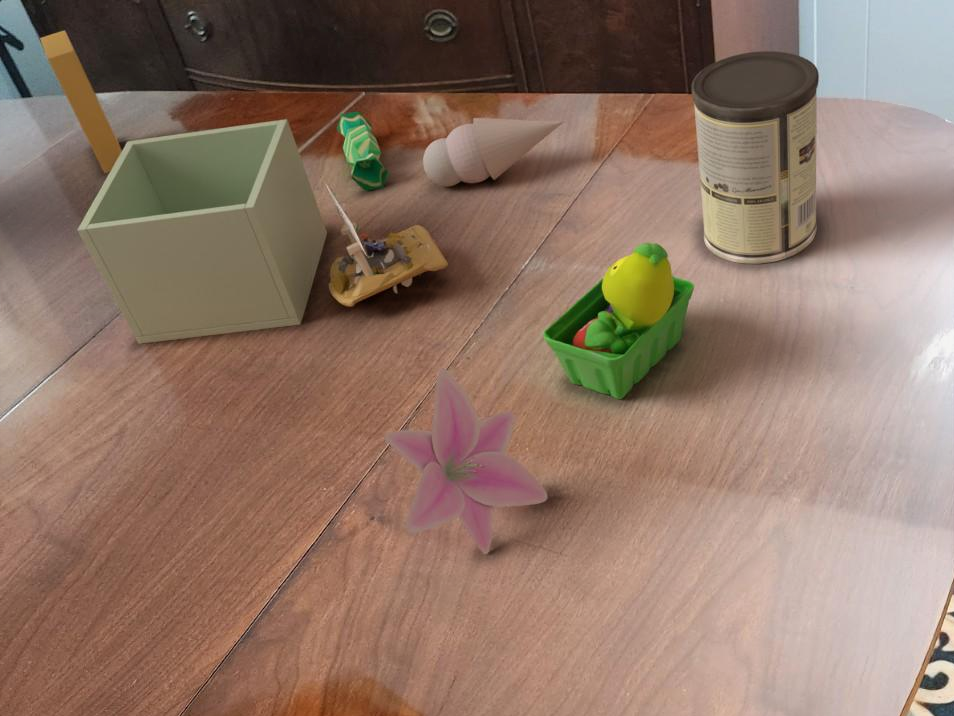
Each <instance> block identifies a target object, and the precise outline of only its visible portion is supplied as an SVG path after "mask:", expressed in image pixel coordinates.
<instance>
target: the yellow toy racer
mask: <svg viewBox="0 0 954 716" xmlns="http://www.w3.org/2000/svg"><path fill="white" fill-rule="evenodd" d="M323 182H324V185H325V187H326V189H327V191H328V193H329V195H330V198H331V199H332V201H333V203H334V206H335V208H336V211H337V213H338V214H339V217H341V219H342V221H343V222H344V223H343V225H342V227H341V229H340V233H341V235H343V236H344V235H347V236H348V239H349V240H350V243H351V244H349V245H347V246H346V251H347V252H345V253H344V255H343V256H337V257H336V259H335V260H334V261H333V263H332V264H331V265H330V271H329V277H330V282H328V290H329V292H330V295H331V296H332V297H333V298H334V299H335V300H336V301H337V302H338V303H339V304H341V305H342V306H345V307H351V308H352V307H354V306H355V305H356V304H357V303H359V302H361V301H364V300H366V299H368V298H370V297H372V296H374V295H376V294H379V293H381V292H383V291H386V290H388V289H390V288H391V287H392V291H393V292H394V293H395V294H398V287H397V285H399V284H400V283H401V285H402V286H404V287H406V288H409V286H411V285H412V282H413V278H414V277H416V276H418V275H419V277H421V274H423V273H426V272H437V271H439V270H443V269H444V268H445V269H446V268H447V266H448V264H449V263H448V261H447V260H446V258H445V256H444V254H443V253H442V252H441V250H440V249H439V247H438V245H437V243H436V242H435V241H434V239H433V237H432V236H431V234H430V232H429V231H428V230H427V229H426V228H425V227H424V226H422V225H420V224H415V225H412V226H411V227H409V228H406V229H404V230H401V231H399V232H397V233H394V232H389V234H388V236H387V237H385V238H382V239H371V238H369V236H368V235H367V234H366V233H363V234H361V235H362V238H363V245H362V242H361V240H360V238H359V234H358V233H357V231H358V229H359V227H360V225H359V224H357V223H356V222H355V221H354V222H352V220H351V219H350V217H349V215H348V214H347V211H346V210H344V208H343V206H342V204H341V203H340V201H339V199H338V198H337V196H336V194H335V192H334V190H333V188H331V187H330V188H329V186H328V185H327V183H326V181H323ZM465 358H466V360H468V361H469V360H470V357H469V356H466V357H465Z"/></svg>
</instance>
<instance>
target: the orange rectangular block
mask: <svg viewBox="0 0 954 716" xmlns="http://www.w3.org/2000/svg"><path fill="white" fill-rule="evenodd" d="M39 39H40V42H41V45H42V47H43V50H44V53H45V56H46V58H47V61H48V62H49V64H50V67H51V68H52V70H53V73H54V75H55V76H56V79H57V81H58V83H59V84H60V87H61V88H62V91H63V93H64V95H65V96H66V99H67V100H68V102H69V104H70V107H71V109H72V111H73V113H74V114H75V117H76V119H77V121H78V123H79V125H80V127H81V129H82V131H83V133H84V135H85V137H86V139H87V141H88V143H89V145H90V147H91V149H92V151H93V153H94V155H95V157H96V159H97V162H98V163H99V165H100V167H101V169H102V171H103V173H104V174H109V173H110V171H111V170H112V168H113V166H114V164H115V163H116V161H117V159H118V157H119V156H120V154H121V152H122V150H123V149H122V147H121V145H120V142H119V141H118V138H117V136H116V134H115V133H114V129H113V128H112V126H111V124H110V121H109V120H108V117H107V115H106V113H105V111H104V109H103V107H102V104H101V103H100V101H99V99H98V96H97V94H96V92H95V90H94V88H93V86H92V84H91V81H90V80H89V78H88V76H87V74H86V72H85V69H84V67H83V65H82V63H81V61H80V59H79V57H78V54H77V52H76V50H75V49H74V46H73V44H72V41H71V40H70V38H69V36H68V33H67V32H66V30H61V31H58V32H55V33H51V34H48V35H46V36H42V37H39Z"/></svg>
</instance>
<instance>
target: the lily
mask: <svg viewBox="0 0 954 716" xmlns="http://www.w3.org/2000/svg"><path fill="white" fill-rule="evenodd" d="M434 392H435V394H434V402H433V403H434V404H433V412H432V413H433V414H432V419H431V420H432V422H431V431H430V430H427V429H426V430H425V429H402V430H393V431H388V432H386V433H385V434H383V437H384V439H385V441H386V442H387V443H388V444H389V445H390V447H392V449H394V450H395V451H396V452H397V453H398V454H399V455H400V456H401V457H402V458H404V460H406V462H407V463H409V464H410V465H411V466H413V468H415V469H416V470H417V471H419V472H420V473H421V475H420V477H419V480H418V484H417V486H416V491H415V493H414V495H413V498H412V502H411V504H410V507H409V511H408V513H407V517H406V522H405V529H406V533H409V534H418V533H423V532H426V531H429V530H432V529H434V528H437V527H440V526H442V525H444V524H447V523H449V522H452V521H453V520H455V519H457V518H459V520H460V521H461V523H462V525H463V526H464V528H465V529H466V531H467V533H468V535H469V536H470V537H471V539H472V540H473V542H474V543H475V545H476V546H477V548H479V550H480V551H481V552H482V554H484V555H487V554H488V553H489V552H490V550H491V545H492V539H493V535H494V534H493V533H494V523H495V522H494V521H495V515H494V514H495V511H494V507H496V508H497V507H502V508H508V507H522V506H530V505H531V506H532V505H538V504H541V503H544V502H546V501H547V500H548V499H549V498H548V494H547V491H546V490H545V488H544V487H543V485H542V484H541V482H539V480H537V478H536V477H535V476H534V475H533V474H532V473H531V472H530V471H529V470H528V469H527V468H526V467H525V466H524V465H522V463H520V462H519V461H518V460H517V459H515V458H514V457H512V456H511V455H509V454H507V453H506V452H507V448H508V446H509V444H510V440H511V438H512V434H513V431H514V426H515V422H516V415H515V414H516V413H515V412H514V411H512V410H509V411H503V412H500V413H495V414H493V415H490V416H488V417H484V418H483V419H481V420H480V419H479V416H478V413H477V410H476V408H475V406H474V404H473V402H472V401H471V399H470V397H469V396H468V395H467V393H466V391H465V390H464V388H463V387H462V386H461V384H460V382H458V380H457V379H456V378H455V377H454V375H452V373H450V371H449V370H448V369H446V368H443V367H441V369H439V370H438V374H437V378H436V384H435V391H434Z"/></svg>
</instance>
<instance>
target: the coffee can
mask: <svg viewBox="0 0 954 716" xmlns="http://www.w3.org/2000/svg"><path fill="white" fill-rule="evenodd" d="M819 73H820V72H819V70H818V68H817V66H816V65H815V64H814V63H813V62H812V61H811V60H809V59H807V58H805V57H803V56H800V55H797V54H794V53H789V52H783V51H774V50H771V51H770V50H769V51H768V50H765V51H751V52H744V53H740V54H736V55H732V56H728V57H726V58H723V59H719V60H717V61H715V62H713V63H710V64H709V65H707V66H706V67H705V68H703V69H701V70H700V71H699V72H698V74H696V75H695V77H694V78H693V80H692V83H691V97H692V100H693V105H694V117H695V120H694V121H695V132H696V142H697V143H696V145H697V156H698V157H697V158H698V168H699V180H700V181H699V182H700V193H701V195H700V196H701V206H702V207H701V208H702V219H703V220H702V221H703V240H704V244H705V246H706V247H707V249H708V250H709V251H710V252H711V253H712V254H714V255H715V256H716V257H718V258H720V259H724V260H726V261H728V262H731V263H737V264H747V265H761V264H767V263H775V262H779V261H782V260H785V259H789V258H791V257H794V256H795V255H797V254H800V253H801V252H802V251H803V250H805V249H806V248H807V247H808V246H810V244H811V243H812V242H813V240H814V239H815V236H816V234H817V231H818V227H817V225H818V224H817V133H818V132H817V129H818V128H817V125H818V124H817V122H818V121H817V119H818V118H817V109H818V107H817V106H818V105H817V104H818V101H817V100H818V99H817V98H818V97H817V95H818V94H817V91H818V90H817V89H818V86H819V81H820V80H819V78H820V74H819Z"/></svg>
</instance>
